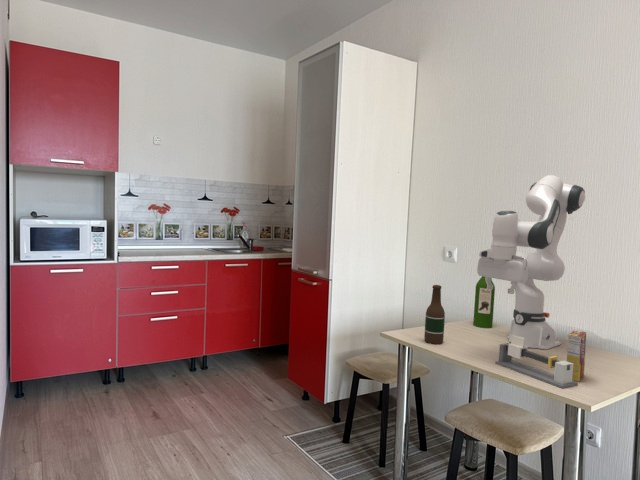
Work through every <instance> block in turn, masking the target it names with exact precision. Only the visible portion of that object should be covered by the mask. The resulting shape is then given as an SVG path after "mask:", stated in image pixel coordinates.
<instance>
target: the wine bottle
mask: <svg viewBox="0 0 640 480" xmlns="http://www.w3.org/2000/svg"><path fill="white" fill-rule="evenodd" d="M475 284H476V285H475V294H474V295H475V296H474V307H473V309H474V310H473V322H472V323H473V326H474V327H476V328H482V329H491V328H492V327H493V324H494V320H493V319H494V309H495V295H496V294H495V292H496V288H495V287H496V286H495V284H494V282H493V279H492V280H491V284H492V285H493V290H489V289H487V283H486V281H485V277H484V276H480V278H479V280H478V281H477V282H476V283H475Z"/></svg>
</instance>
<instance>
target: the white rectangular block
mask: <svg viewBox="0 0 640 480" xmlns="http://www.w3.org/2000/svg"><path fill="white" fill-rule="evenodd" d="M525 342H526V339H525V338H522V337H519V336H515V335H512V340H511V342H510V343H511V344H508V355H510V356H512V357H513V358H516V359H519V360H522V359H527V358H528V357H525V356H522V355H521V350H522V349H524V350H527V351H529V347H528V346H525Z"/></svg>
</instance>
